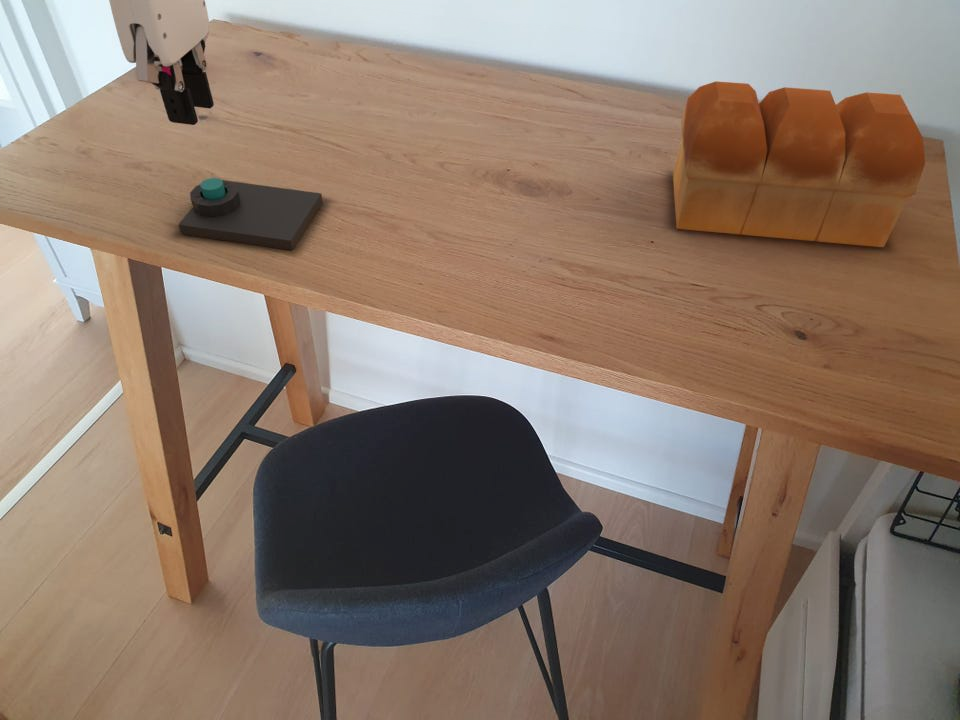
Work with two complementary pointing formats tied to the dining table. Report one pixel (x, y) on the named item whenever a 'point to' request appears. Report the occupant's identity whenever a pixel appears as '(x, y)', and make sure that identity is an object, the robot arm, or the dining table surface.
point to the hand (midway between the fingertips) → (191, 112)
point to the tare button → (212, 188)
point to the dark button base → (252, 215)
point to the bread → (796, 164)
